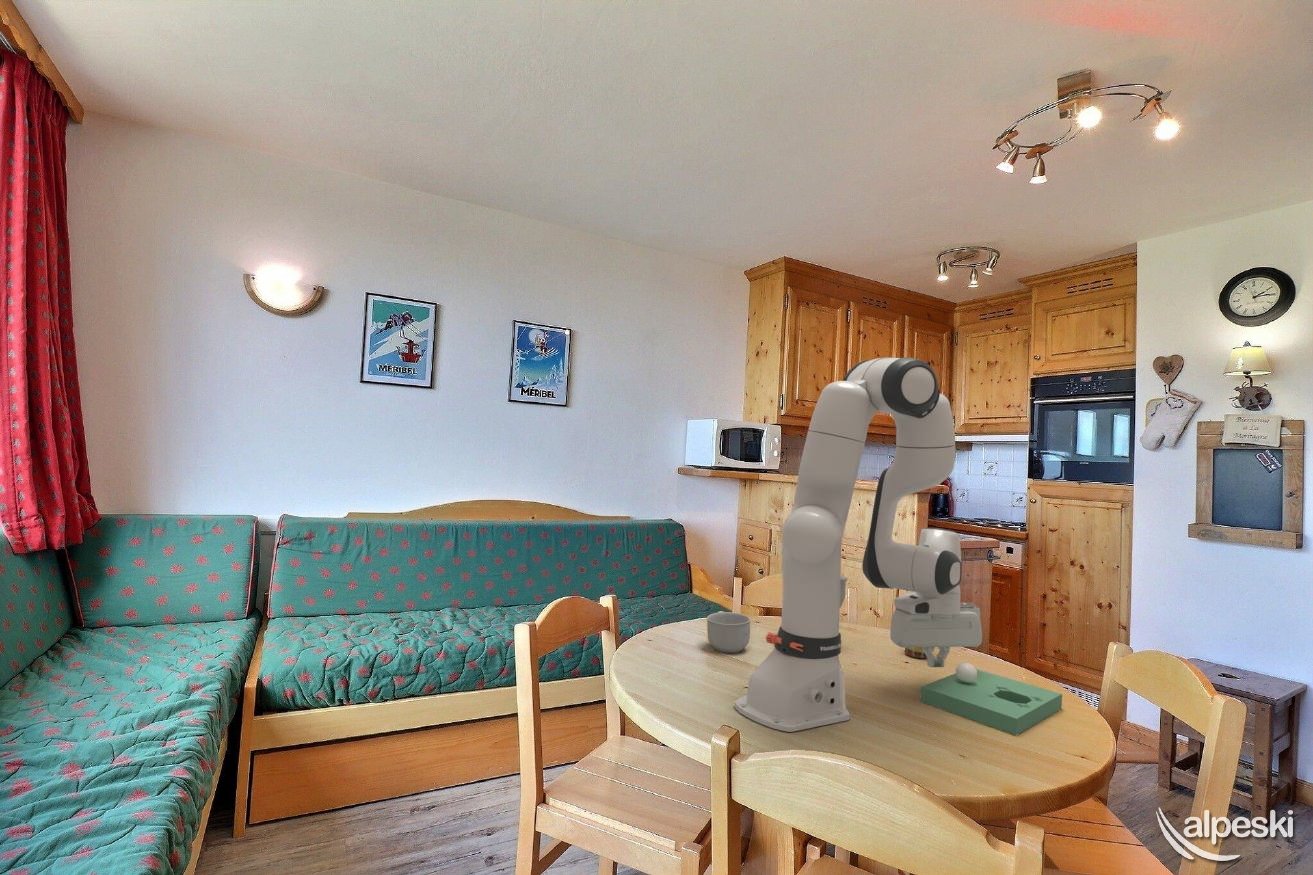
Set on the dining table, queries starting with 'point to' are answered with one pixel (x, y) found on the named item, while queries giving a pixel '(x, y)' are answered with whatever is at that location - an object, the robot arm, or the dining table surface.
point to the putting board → (993, 701)
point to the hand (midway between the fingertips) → (935, 666)
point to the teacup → (728, 631)
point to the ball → (966, 672)
